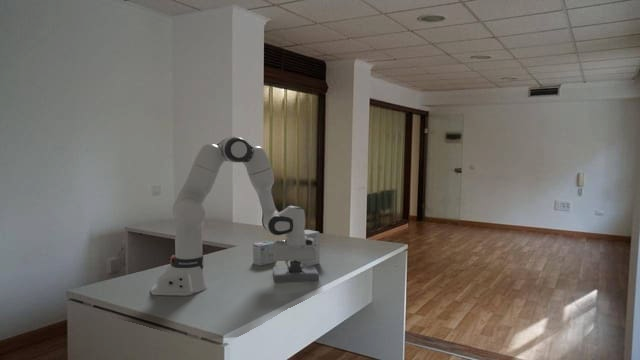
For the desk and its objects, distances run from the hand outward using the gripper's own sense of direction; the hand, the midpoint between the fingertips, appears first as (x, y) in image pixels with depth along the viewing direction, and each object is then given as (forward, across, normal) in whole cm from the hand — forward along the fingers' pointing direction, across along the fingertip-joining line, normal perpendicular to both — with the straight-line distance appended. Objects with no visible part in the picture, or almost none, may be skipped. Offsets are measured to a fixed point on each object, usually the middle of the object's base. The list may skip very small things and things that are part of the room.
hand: (295, 269), depth 208 cm
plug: (+2, 0, 0) cm, 2 cm away
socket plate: (+4, 0, 0) cm, 4 cm away
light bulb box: (+4, -13, +26) cm, 29 cm away
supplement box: (+4, +9, +22) cm, 24 cm away
